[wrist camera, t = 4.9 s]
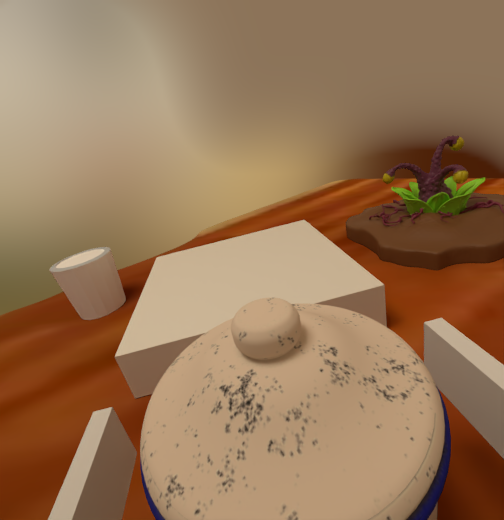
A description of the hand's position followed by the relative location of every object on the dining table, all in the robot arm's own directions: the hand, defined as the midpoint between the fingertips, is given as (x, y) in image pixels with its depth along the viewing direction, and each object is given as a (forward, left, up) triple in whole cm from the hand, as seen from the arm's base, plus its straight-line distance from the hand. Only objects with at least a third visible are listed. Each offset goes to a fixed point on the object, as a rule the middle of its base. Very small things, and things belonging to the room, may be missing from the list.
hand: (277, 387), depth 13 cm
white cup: (-18, +27, -7) cm, 33 cm away
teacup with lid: (0, -1, -7) cm, 7 cm away
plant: (+25, +24, -7) cm, 36 cm away
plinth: (0, +19, -6) cm, 20 cm away
